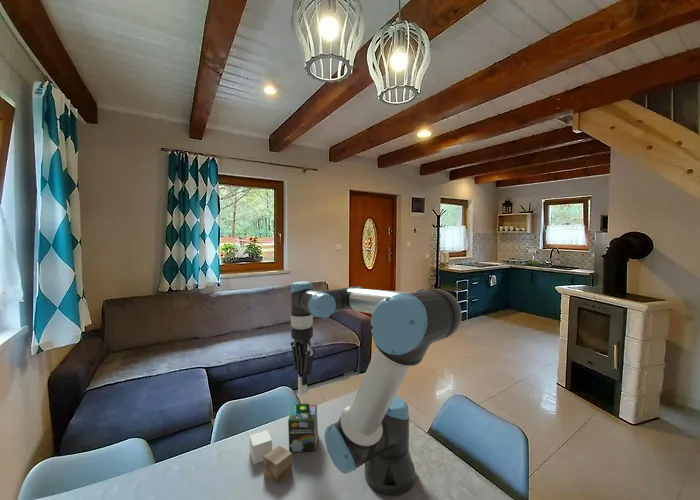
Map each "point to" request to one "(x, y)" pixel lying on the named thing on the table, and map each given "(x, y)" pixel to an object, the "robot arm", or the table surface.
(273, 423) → the table surface
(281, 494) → the table surface
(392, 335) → the robot arm
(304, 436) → the chalk box
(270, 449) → the white cube
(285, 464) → the walnut block
